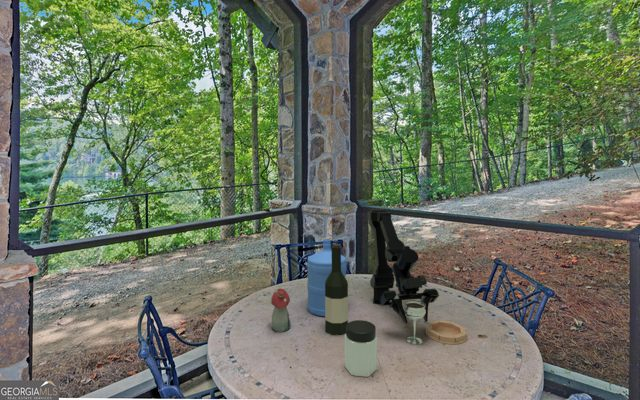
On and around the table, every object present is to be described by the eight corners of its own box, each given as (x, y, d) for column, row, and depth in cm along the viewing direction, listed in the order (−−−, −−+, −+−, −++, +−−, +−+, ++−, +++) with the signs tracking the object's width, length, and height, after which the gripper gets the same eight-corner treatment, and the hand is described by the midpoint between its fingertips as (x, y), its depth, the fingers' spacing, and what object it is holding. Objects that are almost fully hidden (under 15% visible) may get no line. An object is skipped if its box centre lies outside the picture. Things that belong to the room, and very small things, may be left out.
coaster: (425, 341, 105) (425, 335, 105) (425, 323, 118) (425, 318, 117) (469, 347, 101) (469, 340, 101) (464, 328, 114) (464, 322, 114)
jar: (357, 356, 97) (357, 316, 96) (381, 366, 92) (381, 324, 91) (339, 369, 90) (339, 327, 89) (364, 381, 85) (364, 337, 84)
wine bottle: (351, 326, 115) (351, 243, 113) (343, 337, 108) (343, 248, 106) (330, 322, 119) (329, 241, 117) (320, 332, 111) (320, 246, 109)
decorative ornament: (286, 334, 110) (286, 291, 109) (268, 333, 111) (267, 290, 110) (292, 322, 119) (292, 282, 118) (275, 321, 120) (274, 281, 119)
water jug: (301, 313, 127) (300, 242, 125) (316, 299, 141) (316, 235, 139) (339, 320, 121) (339, 245, 119) (351, 304, 135) (351, 237, 133)
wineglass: (422, 347, 101) (422, 310, 100) (400, 342, 105) (401, 305, 104) (427, 338, 107) (428, 302, 106) (407, 333, 110) (407, 298, 109)
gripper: (383, 267, 107) (395, 314, 97) (437, 265, 109) (454, 310, 99) (375, 283, 115) (386, 328, 105) (425, 280, 117) (440, 324, 107)
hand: (416, 322), depth 104 cm, fingers closed on wineglass, 6 cm apart
